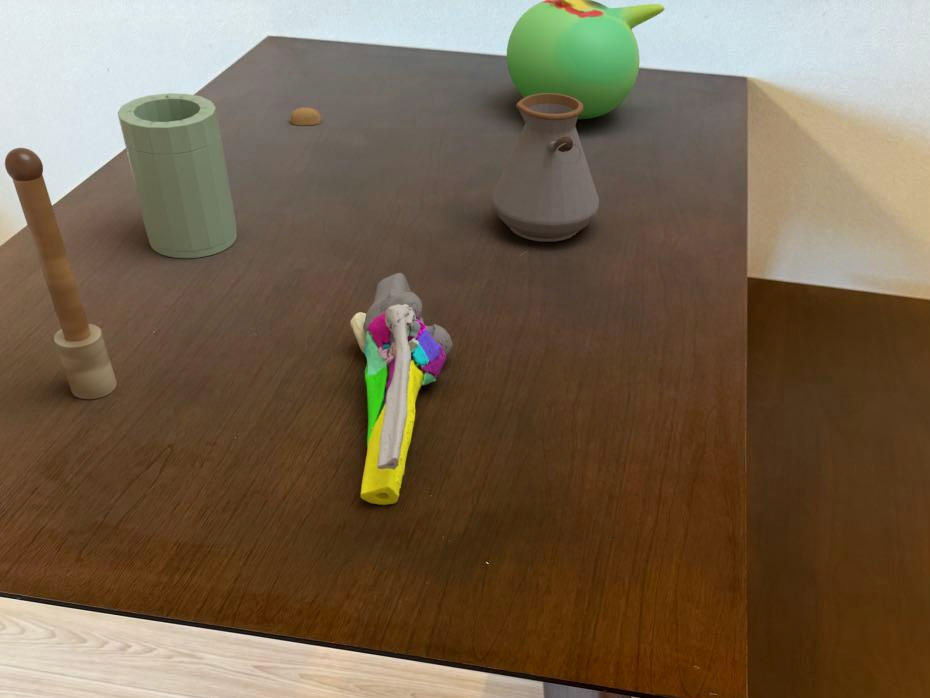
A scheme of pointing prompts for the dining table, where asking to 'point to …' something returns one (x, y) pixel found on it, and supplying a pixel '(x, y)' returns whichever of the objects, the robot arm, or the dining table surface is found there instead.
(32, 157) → the wooden pestle
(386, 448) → the knee model
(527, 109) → the coffee pot
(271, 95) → the dining table surface
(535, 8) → the toy bird
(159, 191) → the pale green cup
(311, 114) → the potato
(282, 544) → the dining table surface
